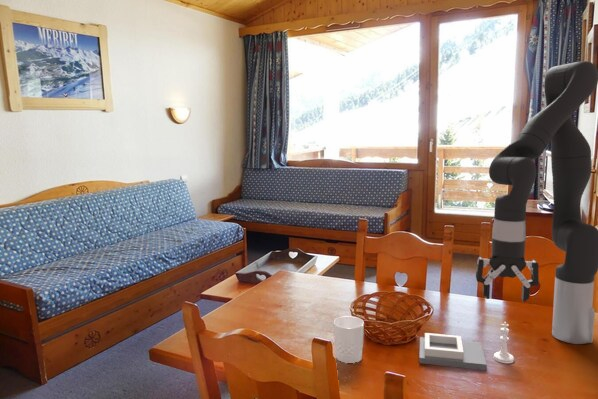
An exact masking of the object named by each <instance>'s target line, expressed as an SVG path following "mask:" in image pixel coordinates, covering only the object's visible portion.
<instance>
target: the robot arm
mask: <svg viewBox="0 0 598 399" xmlns="http://www.w3.org/2000/svg"><path fill="white" fill-rule="evenodd" d="M543 86H544V87H543V88H544V95H545V103H546V107H545V108H543V109H541V110H540V111H539V112H537V113H536V114H534V116H533V117H531V118H530V119H529V120H528V121H527V122H526V123H525V125H524V126H523V127H522V130H520V132H519V133H518V135H517V137H516V138H515V139H514V140H513V141H512V142H511V143H509V144H508V145H507V146H506V147H505V148H504V149H502V150H501V151H499V153H498V154H497V155H496V156H495V157H494V158H493V159H492V161H491V163H490V165H489V168H488V169H489V170H488V175H489V178H490V180H491V181H492V182H493V183H495V184H498V185H503V186H504V185H505V186H512V187H511V190H510V192H509V193H508V194H507V193H506V194H500V195H498V196H497V197H496V198H495V200H494V213H493V214H494V215H493V218H494V219H493V224H492V234H491V235H492V236H491V255H490V257H489V258H483V257H482V256H478V257H477V261H476V262H477V263H476V271H475V279H476V282H478V283H481V284H482V294H483V297H484V298H485V299H486V300H489V299H490V293H491V292H490V291H491V285H490V284H491V282H493V281H494V280H495V279H496V278H497V277H498V276H499V277H500V278H505V277H506V278H509V279H510V278H511V279H513V278H516V277H517V278H518V279H519V280H520V282H521V283H522V287H521V300H522V303H523V302H525V303H526V302H527V300H529V299H530V293H531V292H530V289H531V287H538V286H539V263H538V262H537V261H536V260H535V259H532V260H531V261H530V260H525V252H526V250H525V249H526V238H527V234H526V232H527V226H526V216H527V203H528V200H529V197H530V194H531V191H532V190H533V189H532V188H533V186H534V184H535V182H536V178H537V167H536V164H535V162H534V161H533V160H536V159H538V158H539V157H541V155H542V154H543V153H544V151H545V150H546V148H547V147H548V145H549V144H550V160H551V174H552V197H553V209H552V221H551V225H552V226H551V238H552V241H553V244H554V245H555V246H556V247H557V248H558V249H559V250H561V251H563V252H565V256H564V257H565V258H564V263H563V264H559V265H557V266H556V267H555V272H554V273H555V275H554V288H553V289H554V291H553V292H554V293H553V309H552V311H553V312H552V325H551V329H552V330H551V334H552V336H553V337H554V338H555V339H557V340H559V341H561V342H564V343H568V344H574V345H584V344H585V345H586V344H593V340H594V339H593V338H594V327H595V311H596V310H595V308H594V307H593V303H594V302H593V298H594V288H595V287H594V286H595V285H594V284H595V283H594V282H595V276H596V274H597V272H598V228H597V227H596V226H594V225H592V224H589V223H587V222H584V221H582V213H581V208H582V207H581V206H582V205H581V203H582V202H581V201H582V197H583V195H584V192H585V190H586V188H587V186H588V183H589V181H590V178H591V175H592V151H591V150H592V149H591V146H590V144H589V141H588V140H587V139H586V137H585V136H584V134H583V133H582V132H581V130H580V129H579V128H578V127H577V126H578V125H576V124H575V122H574V120H573V117H572V115H574V113H575V112H576V111H577V110H578V109H579V108H580V107H581V106H582V105H583V104H584V102H585V101H586V100H587V99H588V98H590V97H591V95H592V94H593V93H594V91H595V89H596V88H597V86H598V69H597V67H596V65H595V64H594V63H593V62H591V61H586V60H585V61H584V60H583V61H575V62H571V63H569V62H568V63H565V64H560V65H556V66H552V67H550V68H549V69H548V70H547V72H546V74H545V77H544V85H543ZM487 265H490V267H491V269H490V270H489V271H488V273H487V274H486V275H485V276H483V271H484V268H486V267H487ZM526 267H528V270H529V271H530V279H527V278H526V277H525V275H524V274H523V273H522V271H523V270H524V269H525V268H526Z"/></svg>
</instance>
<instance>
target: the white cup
mask: <svg viewBox="0 0 598 399" xmlns="http://www.w3.org/2000/svg"><path fill="white" fill-rule="evenodd" d="M364 326H365V321H364V320H363V319H362V318H360V317H358V316H353V315H343V316H340V317H336V318H335V319H334V320H333V333H334V334H333V336H334V345H335V346H334V347H335V351H336V352H335V356H336V360H338V362H340V361H341V362H340V363H342V362H345V363H344V364H347V363H353V364H356V363H355V362H357V363H359V362H360V361H361V360H362V358H363V348H364V331H365V330H364Z"/></svg>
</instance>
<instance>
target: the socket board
mask: <svg viewBox="0 0 598 399" xmlns="http://www.w3.org/2000/svg"><path fill="white" fill-rule="evenodd" d="M418 358H419V361H418V362H419V364H425V365H433V366H443V367H445V366H446V367H452V368H454V367H455V368H462V369H471V370H481V371H482V370H483V371H487V361H486V357H485V353H484V350H483V346H482V342H478V341H477V342H476V341H466V340H462V336H461V335H456V334H455V335H452V334H442V333H431V332H424V337H423V336H420V337H419V357H418Z"/></svg>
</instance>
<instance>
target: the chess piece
mask: <svg viewBox="0 0 598 399" xmlns="http://www.w3.org/2000/svg"><path fill="white" fill-rule="evenodd" d="M509 326H510V325H509V324H508V323H507V321H504V322H503V323H501V327H500V332H501V335H500V337H499V339H500V340H501V347H500V351H497V352H495V353H494V354H493V356H492V357H493V359H494V360H495V361H496V362H498V363H501V364H512V363H514V362H515V357H514V355H513V354H511V353H510V352H509V351H508V347H507V346H508V345H507V341H509V340H510V338H509V337H508V334H509V332H510V329H509V328H508V327H509Z"/></svg>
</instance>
